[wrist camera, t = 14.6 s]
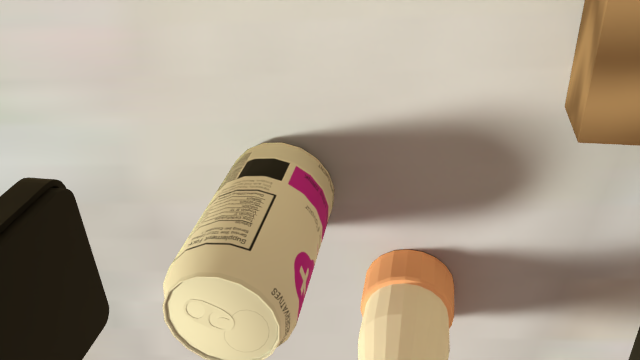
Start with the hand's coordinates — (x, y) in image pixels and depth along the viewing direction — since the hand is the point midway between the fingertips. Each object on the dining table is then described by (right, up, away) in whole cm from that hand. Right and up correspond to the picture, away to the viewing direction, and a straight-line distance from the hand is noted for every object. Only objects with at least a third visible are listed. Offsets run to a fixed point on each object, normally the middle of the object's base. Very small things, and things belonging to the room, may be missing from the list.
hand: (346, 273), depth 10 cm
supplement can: (-3, +1, +37) cm, 37 cm away
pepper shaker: (+7, -7, +39) cm, 41 cm away
